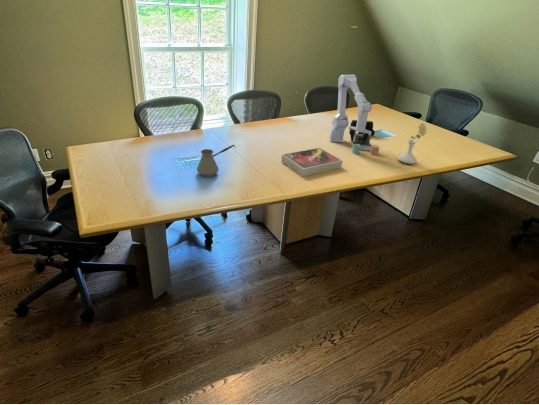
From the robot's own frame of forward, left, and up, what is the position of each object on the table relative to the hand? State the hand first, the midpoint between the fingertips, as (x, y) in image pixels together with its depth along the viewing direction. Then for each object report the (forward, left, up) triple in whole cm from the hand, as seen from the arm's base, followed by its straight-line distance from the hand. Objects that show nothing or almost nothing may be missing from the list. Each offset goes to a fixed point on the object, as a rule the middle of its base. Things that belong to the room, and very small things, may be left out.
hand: (357, 142), depth 218 cm
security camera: (+11, +36, -7) cm, 38 cm away
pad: (+7, +8, -7) cm, 12 cm away
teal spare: (0, 0, -7) cm, 7 cm away
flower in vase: (+31, -10, -7) cm, 33 cm away
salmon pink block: (+12, 0, -7) cm, 14 cm away
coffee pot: (-84, -43, -7) cm, 95 cm away
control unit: (+7, +17, -7) cm, 19 cm away
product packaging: (-31, -24, -7) cm, 40 cm away
